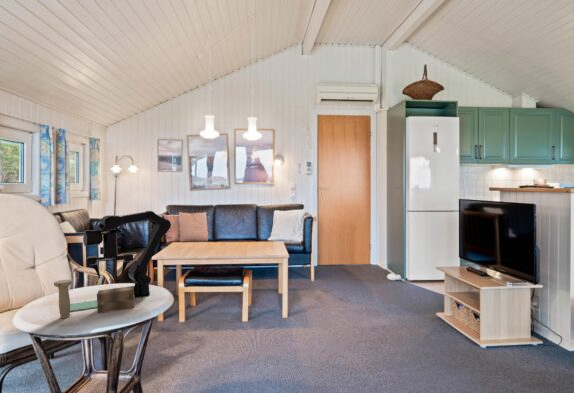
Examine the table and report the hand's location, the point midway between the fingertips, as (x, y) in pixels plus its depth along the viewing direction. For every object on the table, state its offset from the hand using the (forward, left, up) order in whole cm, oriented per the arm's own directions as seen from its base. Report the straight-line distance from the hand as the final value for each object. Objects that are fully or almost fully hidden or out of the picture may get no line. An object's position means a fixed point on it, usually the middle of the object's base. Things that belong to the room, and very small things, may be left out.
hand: (111, 277), depth 160 cm
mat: (+12, 0, -12) cm, 17 cm away
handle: (+16, +11, -12) cm, 23 cm away
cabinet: (-3, +9, -12) cm, 15 cm away
